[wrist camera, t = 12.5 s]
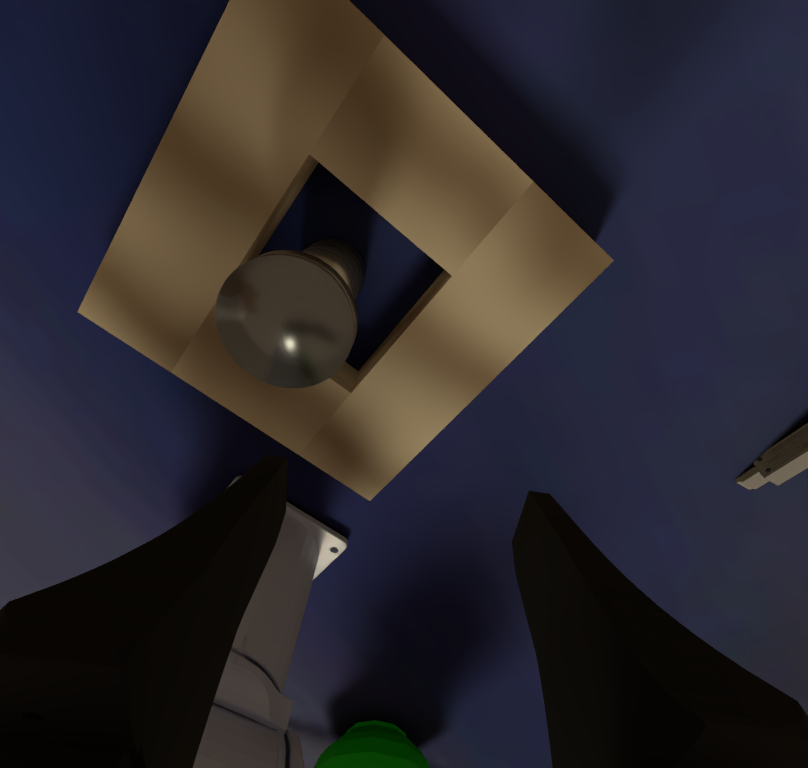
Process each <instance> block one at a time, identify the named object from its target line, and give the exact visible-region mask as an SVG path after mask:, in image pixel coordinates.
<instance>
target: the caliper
mask: <svg viewBox="0 0 808 768" xmlns="http://www.w3.org/2000/svg"><path fill="white" fill-rule="evenodd" d="M753 464H754V467H753V468H751V469H750V470H748V471H746V472H745V473H743V474H741V475H740V476H739V477H738V478H736V479H735V482H736V483H738V484H740V485H742V486H743V487H745V488H747V489H749V490H750V489H752V488H753V489H757V488H759V487H760V486H762V485H764V484H765V483H767V482H768V481H771V482H772V483H774V484H776V485H780V484H781V483H783V482H785V481H786V480H788V479H790V478H791V477H793V476H795V475H796V474H798V473H800V472H801V471H803V470H805V469H806V468H808V421H807V422H806V423H804V424H803V425H801V426H800V427H798V428H797V429H795V430H794V431H792V432H791V433H789V434H788V435H786V436H785V437H783V438H782V439H780V440H779V441H777V442H776V443H775V444H774V445H773V446H771V447H770V448H769V449H768V450H767V451H766V452H765V453H764V454H763V455H762V456H760V457H759V458H758V459H757V460H756V461H755V462H754V463H753Z"/></svg>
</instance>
